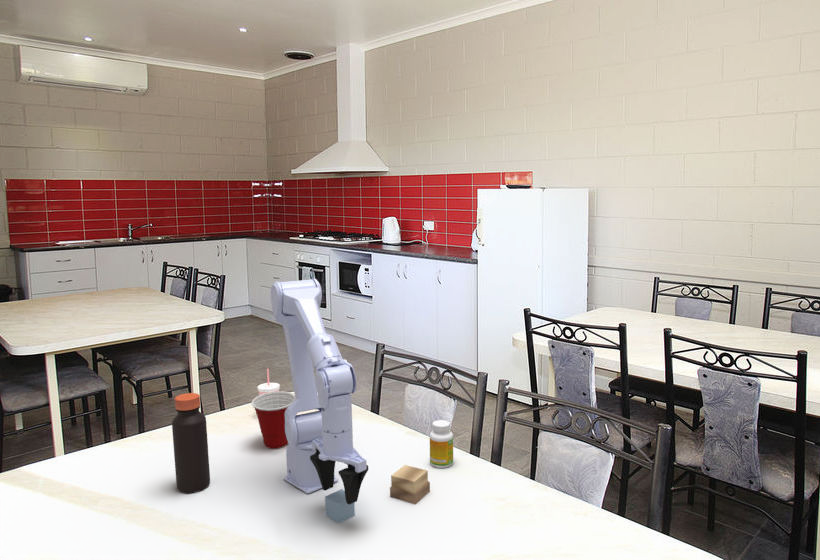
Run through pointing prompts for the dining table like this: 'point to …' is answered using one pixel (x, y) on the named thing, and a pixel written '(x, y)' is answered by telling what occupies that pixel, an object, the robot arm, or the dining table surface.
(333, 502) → the slate blue cube
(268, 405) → the plastic cup
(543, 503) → the dining table surface
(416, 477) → the oak slab
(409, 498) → the walnut slab
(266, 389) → the beverage cup
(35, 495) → the dining table surface
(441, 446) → the supplement bottle
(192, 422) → the vinegar
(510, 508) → the dining table surface
